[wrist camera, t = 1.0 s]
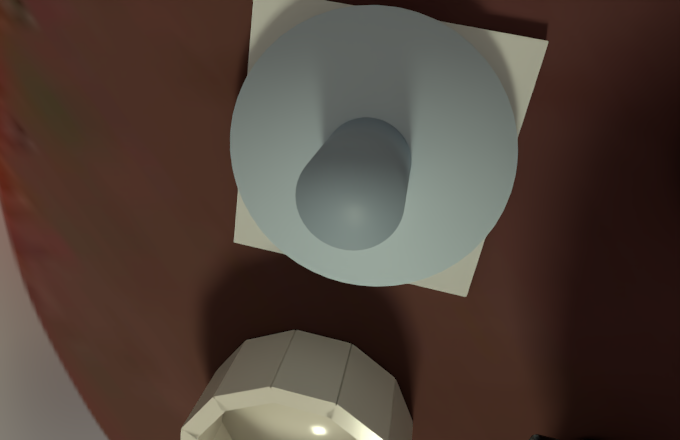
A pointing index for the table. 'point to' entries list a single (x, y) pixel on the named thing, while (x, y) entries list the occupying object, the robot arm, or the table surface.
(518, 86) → the mat
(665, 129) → the table surface
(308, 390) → the bowl
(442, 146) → the lid
